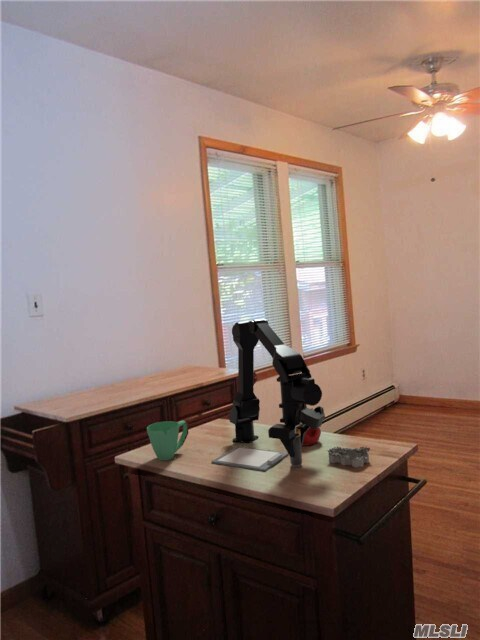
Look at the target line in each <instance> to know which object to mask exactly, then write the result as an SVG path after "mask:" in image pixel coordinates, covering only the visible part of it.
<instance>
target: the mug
mask: <svg viewBox="0 0 480 640" xmlns="http://www.w3.org/2000/svg"><path fill="white" fill-rule="evenodd" d="M180 427H182V432H181V435H180V437H179V432H180ZM146 433H147V435H148V438H149V441H150V444H151V447H152V450H153V452H154V454H155V456H156V457H157V460H158V459H159V460H158V461H169V460H172V459H173V458H174V457H175V454H176V452H177V451H178V450H180V449H181V448H182V446H183V445H184V443H185V442H186V439H187V437H188V435H189V424H188V423H187V422H186V420H180V421H172V420H171V421H167V420H166V421H160V422H154V423H152V424H149V425H148V426H147V427H146Z"/></svg>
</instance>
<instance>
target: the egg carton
mask: <svg viewBox="0 0 480 640" xmlns="http://www.w3.org/2000/svg"><path fill="white" fill-rule="evenodd" d="M370 451H371V448H370V447H368V446H365V447H364V446H362V447H361V446H360V447H359V448H357V447H354V448H351V447H343V448H342V447H341V446H336V447H335V446H334V447H332V448H329V449H327V450H326V452H328V461H329V462H330V463H331V464H335V463H336V464H337V462H338V464H341V466H344V465H345V466H352V468H354V467H355V469H356V468H362V467H364V464H368V462H369V463H370V455H369V453H370Z"/></svg>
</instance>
